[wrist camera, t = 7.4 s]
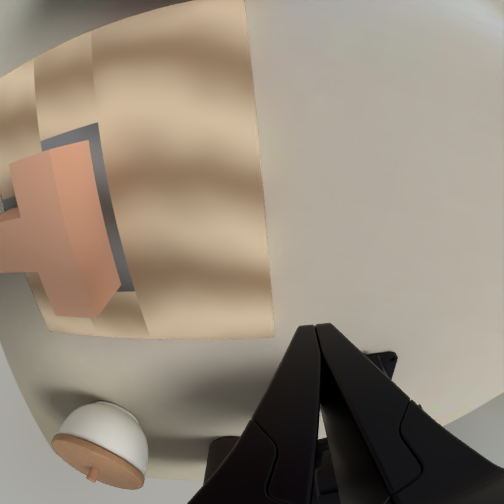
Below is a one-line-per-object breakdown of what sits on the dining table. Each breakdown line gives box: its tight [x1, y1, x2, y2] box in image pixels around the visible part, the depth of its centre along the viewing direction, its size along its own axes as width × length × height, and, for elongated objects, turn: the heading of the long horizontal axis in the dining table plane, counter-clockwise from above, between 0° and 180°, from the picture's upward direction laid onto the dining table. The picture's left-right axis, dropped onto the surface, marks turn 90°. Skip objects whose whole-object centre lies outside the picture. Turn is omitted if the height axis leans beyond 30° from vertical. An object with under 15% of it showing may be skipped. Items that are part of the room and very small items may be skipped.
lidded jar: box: [51, 401, 148, 490], centre depth 25 cm, size 11×11×9 cm
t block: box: [0, 140, 121, 318], centre depth 16 cm, size 10×9×4 cm
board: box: [0, 0, 274, 339], centre depth 18 cm, size 22×20×1 cm
